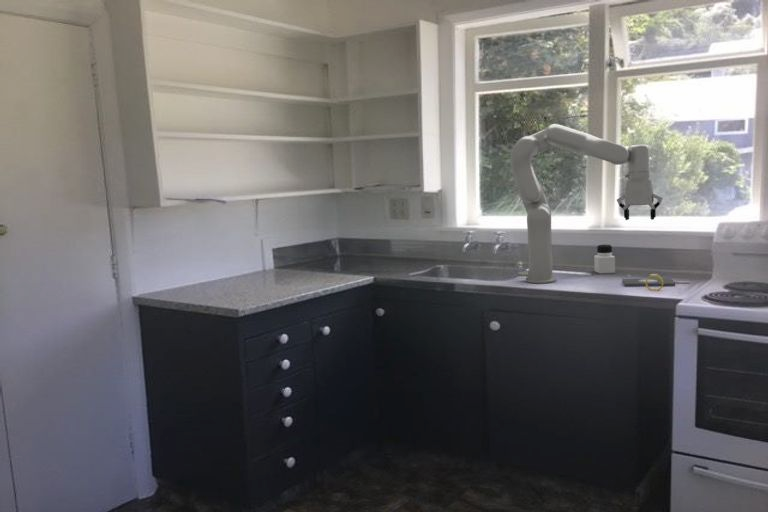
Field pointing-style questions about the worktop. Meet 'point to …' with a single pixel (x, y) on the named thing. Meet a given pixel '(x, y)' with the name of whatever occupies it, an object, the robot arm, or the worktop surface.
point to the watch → (654, 276)
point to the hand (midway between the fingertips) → (639, 219)
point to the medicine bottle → (604, 260)
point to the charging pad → (651, 282)
